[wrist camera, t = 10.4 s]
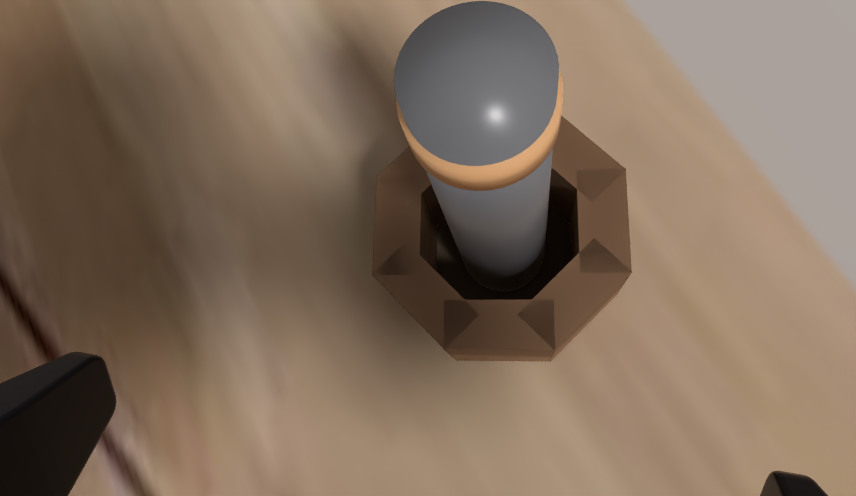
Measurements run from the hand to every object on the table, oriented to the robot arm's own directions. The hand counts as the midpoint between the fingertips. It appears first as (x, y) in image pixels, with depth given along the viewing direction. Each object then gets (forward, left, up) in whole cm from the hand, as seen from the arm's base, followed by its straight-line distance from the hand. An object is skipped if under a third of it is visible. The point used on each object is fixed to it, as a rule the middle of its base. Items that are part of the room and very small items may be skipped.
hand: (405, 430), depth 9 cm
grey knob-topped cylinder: (+6, -1, -13) cm, 14 cm away
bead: (+6, -1, -13) cm, 14 cm away
